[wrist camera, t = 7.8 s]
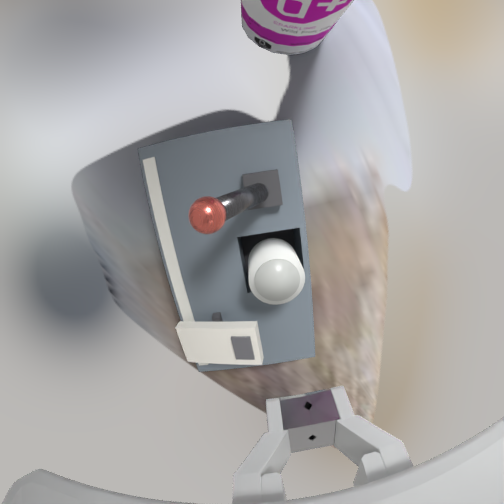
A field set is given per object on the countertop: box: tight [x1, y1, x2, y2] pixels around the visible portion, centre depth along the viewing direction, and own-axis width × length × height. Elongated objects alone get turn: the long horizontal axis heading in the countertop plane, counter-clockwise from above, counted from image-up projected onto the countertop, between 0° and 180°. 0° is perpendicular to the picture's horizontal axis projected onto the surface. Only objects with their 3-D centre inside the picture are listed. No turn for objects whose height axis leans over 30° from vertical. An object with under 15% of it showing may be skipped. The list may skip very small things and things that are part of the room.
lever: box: [188, 183, 269, 234], centre depth 17 cm, size 2×2×7 cm
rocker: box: [175, 321, 264, 365], centre depth 23 cm, size 4×7×1 cm, turn 99°
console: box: [138, 119, 315, 372], centre depth 25 cm, size 22×12×6 cm, turn 9°
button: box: [248, 238, 305, 305], centre depth 21 cm, size 4×4×4 cm
